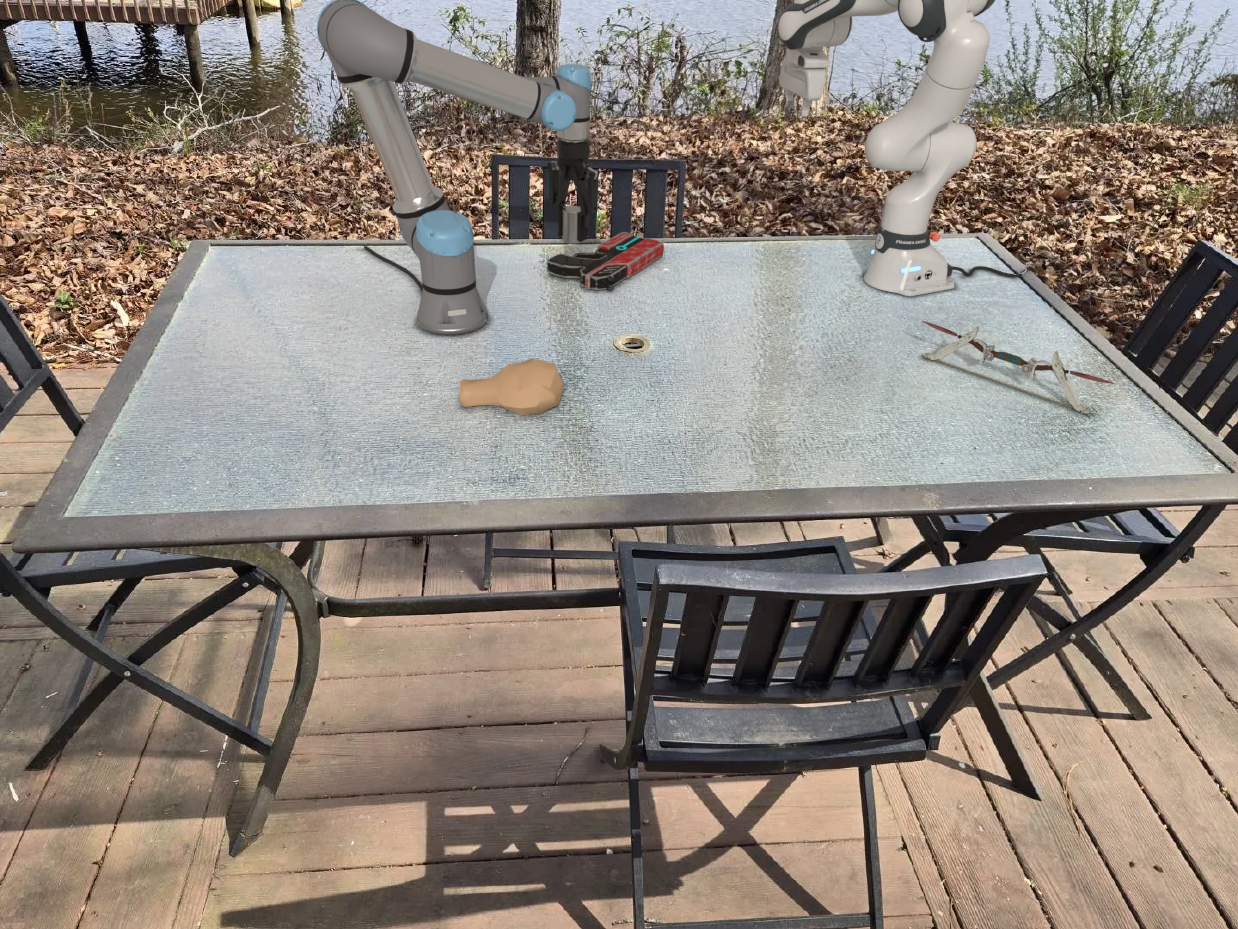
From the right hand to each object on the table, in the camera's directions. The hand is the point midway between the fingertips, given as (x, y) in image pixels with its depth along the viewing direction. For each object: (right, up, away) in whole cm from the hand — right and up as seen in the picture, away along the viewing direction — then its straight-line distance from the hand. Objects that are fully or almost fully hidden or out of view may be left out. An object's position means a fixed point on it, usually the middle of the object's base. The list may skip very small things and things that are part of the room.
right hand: (796, 111), depth 233 cm
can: (-59, -39, -19) cm, 73 cm away
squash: (-68, -83, -67) cm, 127 cm away
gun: (-50, -43, -7) cm, 67 cm away
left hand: (-59, -39, -20) cm, 73 cm away
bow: (+31, -78, -55) cm, 100 cm away
